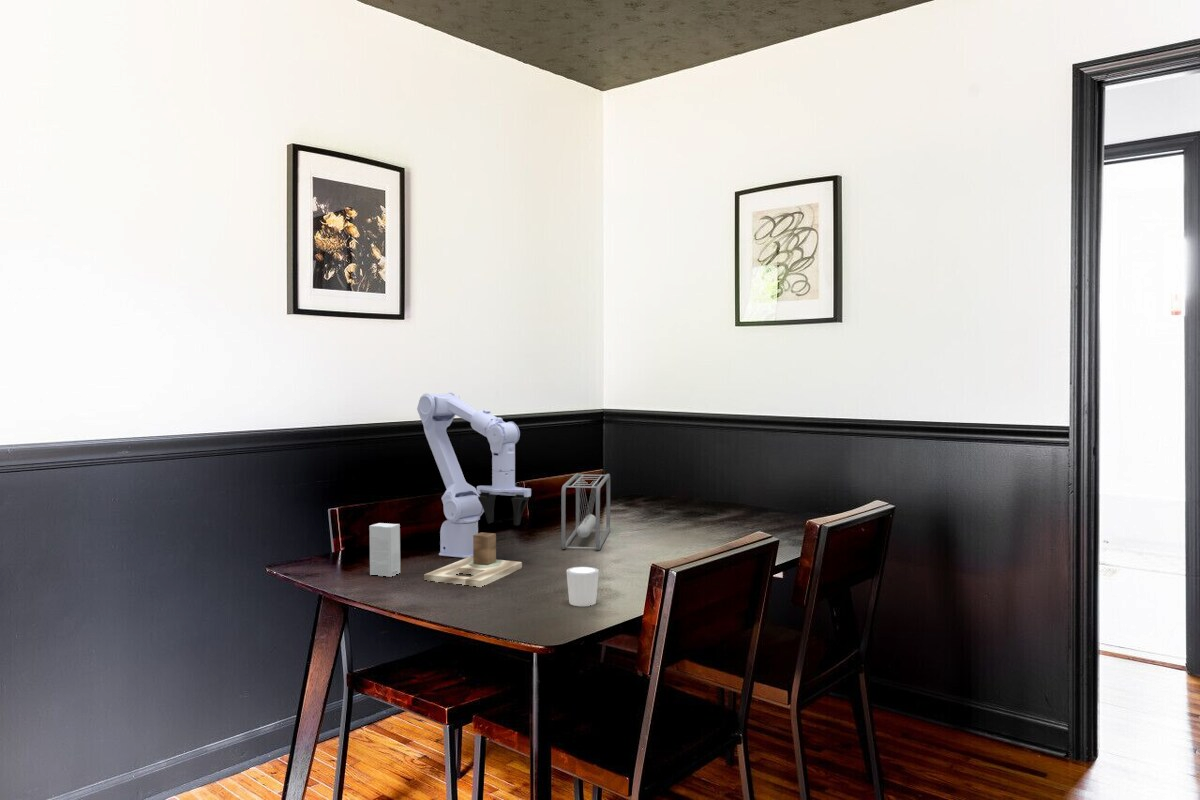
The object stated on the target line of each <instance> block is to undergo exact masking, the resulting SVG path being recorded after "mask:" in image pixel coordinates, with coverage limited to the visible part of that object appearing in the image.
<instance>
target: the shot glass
mask: <svg viewBox="0 0 1200 800" xmlns="http://www.w3.org/2000/svg"><path fill="white" fill-rule="evenodd" d="M599 573H600V569H598V568H596V567H594V566H573V567H569V568H567V569H566V582H567V591H568V592H567V593H568V604H569V605H571V606H575V607H590V605H591V606H594V605H595V604H596V603H597V598H598V597H597V596H598V595H597V594H598V585H599Z"/></svg>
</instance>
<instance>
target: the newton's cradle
mask: <svg viewBox="0 0 1200 800" xmlns="http://www.w3.org/2000/svg"><path fill="white" fill-rule="evenodd" d="M594 478H595V479H594ZM584 479H594V482H593V483H592V484H591V485H587V483H585V482H581V481H584ZM600 479H601V481H600ZM574 481H575V482H574ZM599 481H600V482H599ZM573 482H574V483H573ZM605 483H606V520H605V521H606V527H605V529H601V488H602V487H603V486H604V484H605ZM567 488H575V529H574V530H573V531H572V533H571V534H570V536H569V537H568V538H567V539H566V520H567V519H566V517H567V516H566V515H567V514H566V505H567V504H566V501H567V499H566V497H567V495H566V493H567V492H566V491H567ZM586 489H591V490H590V494H589V495H590V496H589V498H590V499H589V501H588V499H587V493H586ZM582 492H584V493H582ZM560 496H561V497H560V498H561V500H560V501H561V505H560V509H561V515H560V516H561V517H560V518H561V521H560V523H561V525H560V527H561V528H560V529H561V533H560V534H561V535H560V537H561V538H560V539H561V546H560V547H561V549H562V550H563V549H565V550H566V549H580V550H582V549H583V550H596V551H598V550H599V551H600V550H601V549H602V547H603V545H604V544H605V543H604V542H605V541H606V539H607V537H608V535H609V533H610V530H611V474H610V473H606V474H582V473H581V474H579V473H578V472H577V473H575V474H574V475H573V476H572V477H570V478H569V479H568V480H567V481H566V482H565V483H564V484H563V485H562V487H561V495H560ZM586 502H588V503H586ZM594 502H595V503H594ZM582 503H584V504H582ZM584 505H585V506H584ZM586 505H587V506H586ZM594 506H595V515H594V514H593V511H594V508H593V507H594ZM585 508H587V509H585ZM581 509H583V510H581ZM583 511H584V512H583ZM581 512H582V513H581ZM580 520H581V521H580ZM594 528H595V529H594ZM592 532H595V547H592V546H591V547H589V546H588V547H587V546H583V547H581V546H569V545H570V544H571V542H572V541H573V539H574V538H575V537H576V535H578V536H579V537H580V538H583V539H584V538H585V539H586V538H588V537H589V536H590V534H591V533H592ZM600 532H604V533H603V534H602V536H601V533H600Z"/></svg>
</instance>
